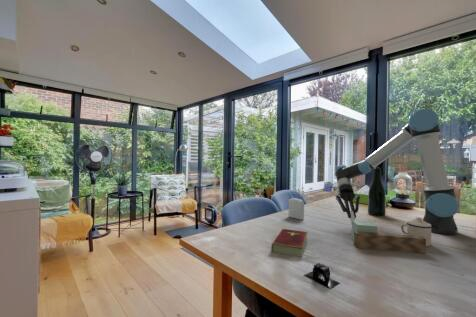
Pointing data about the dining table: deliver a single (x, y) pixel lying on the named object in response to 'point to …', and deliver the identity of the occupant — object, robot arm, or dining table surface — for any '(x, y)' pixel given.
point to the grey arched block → (296, 208)
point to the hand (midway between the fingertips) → (353, 223)
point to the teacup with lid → (418, 229)
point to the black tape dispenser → (322, 276)
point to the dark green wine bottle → (377, 195)
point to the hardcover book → (290, 242)
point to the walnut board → (390, 242)
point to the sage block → (363, 227)
